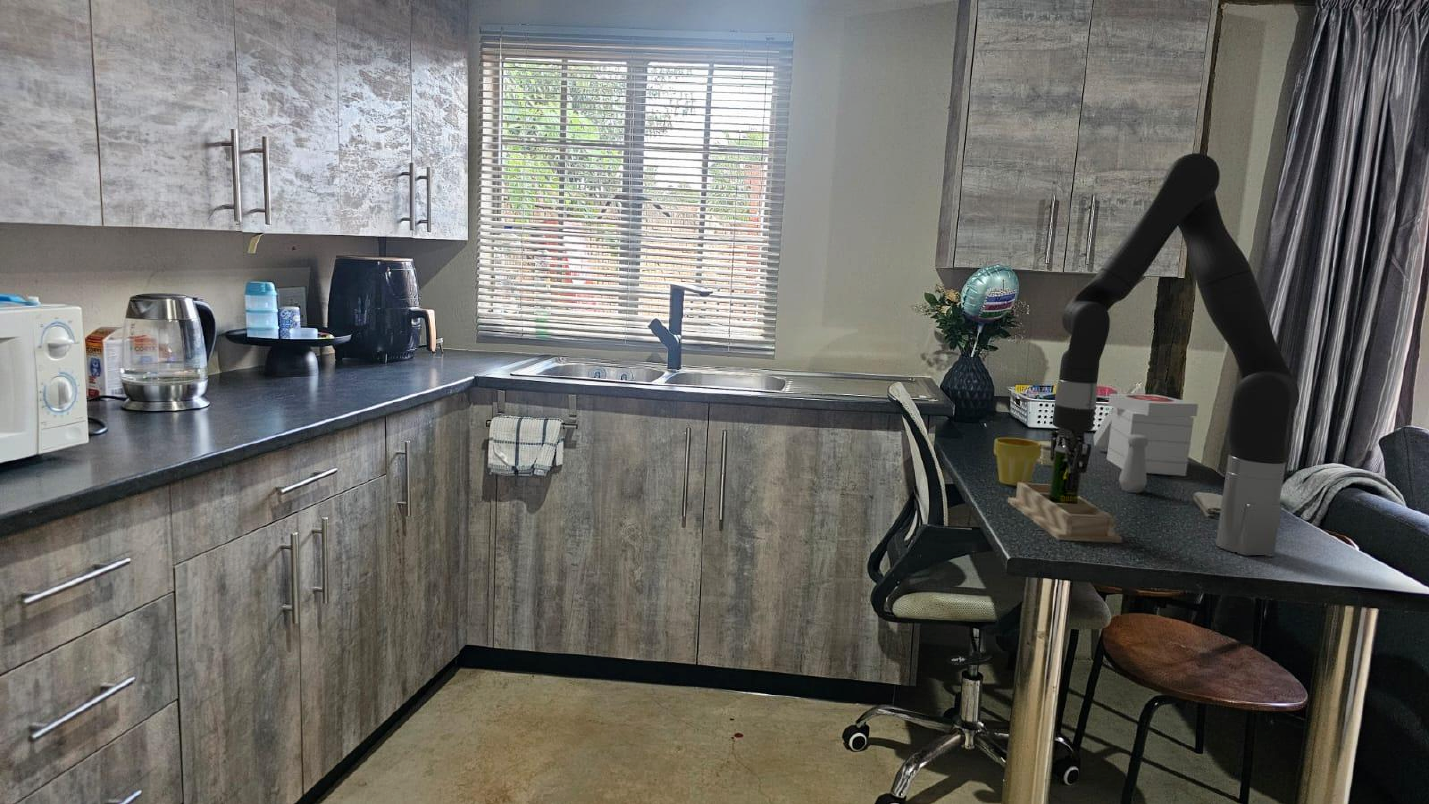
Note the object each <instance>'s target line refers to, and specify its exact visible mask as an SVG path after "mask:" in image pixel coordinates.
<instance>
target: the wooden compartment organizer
mask: <svg viewBox="0 0 1429 804" xmlns="http://www.w3.org/2000/svg"><path fill="white" fill-rule="evenodd" d="M1050 485H1051V483H1049V484H1048V483H1034V482H1032V483H1031V482H1030V483H1022V482H1018V483H1017V486H1016V492H1015V497H1007V503H1008V504H1009V503H1010V506H1012V507H1013V508H1014V509H1016V510H1018V511H1019V512H1020V511H1021V512H1020V513H1022V514H1023V515H1024V516H1026V517H1027V518H1029V520H1031V521H1032V520H1033V521H1032V522H1034V523H1035V524H1036V525H1038V526H1039V527H1040V528H1042V529H1043V530H1044V531H1046V532H1047V533H1048V534H1049V535H1051V536H1052V537H1053V538H1055V539H1056V540H1058V541H1076V542H1077V541H1078V542H1094V543H1095V542H1099V543H1100V542H1101V543H1116V544H1118V543H1119V544H1120V543H1122V542H1123V536H1121V535H1119V534H1118V533H1116V532H1115V526H1116V519H1117V518H1116V517H1115V516H1113V515H1111V514H1110V513H1108V512H1106V511H1104V510H1103V509H1101V508H1100V507H1098V506H1097V505H1095V504H1093V503H1091V502H1089V501H1088V500H1086V499H1085V498H1083V497H1081V496H1079V495H1078V503H1077V504H1070V503H1053V502H1051V501H1050V500H1049V493H1050Z"/></svg>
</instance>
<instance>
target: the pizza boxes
mask: <svg viewBox="0 0 1429 804" xmlns="http://www.w3.org/2000/svg"><path fill="white" fill-rule="evenodd" d="M1108 396H1109V397H1108V403H1107V406H1108V407H1112V408H1110V410H1109V412H1108V413H1107V414H1106V416H1105V417H1104V419H1103V421H1102V422H1101V423H1100V425H1099V427H1098V429H1097V430H1096V431H1095V433H1094V435H1093V443H1094V444H1093V445H1094V447H1102V448H1104V447H1106V448H1107V453H1106V454H1107V456H1106V460H1107V461H1109V462H1111V463H1112V464H1114V465H1115V466H1117V467H1118V468H1120V469H1121V470H1122V469H1123V466H1124V463H1125V460H1126V457H1127V454H1128V451H1129V449H1130V446H1131V445H1129V444H1128V437H1129V436H1130V435H1134V434H1136V435H1143V436H1146V437H1147V438H1148V445H1147V446H1146V447H1145V462H1146V474H1158V475H1170V476H1171V475H1172V476H1183V477H1184V476H1185V477H1186V476H1187V469H1188V463H1189V455H1190V449H1191V447H1190V446H1191V440H1192V434H1193V428H1194V427H1193V426H1194V421H1195V418H1194V417H1197V415H1198V408H1199V407H1198V406H1199V403H1197V402H1192V401H1187V400H1183V399H1178V398H1174V397H1169V396H1165V395H1160V394H1150V393H1149V394H1141V393H1140V394H1138V393H1136V394H1135V393H1132V394H1131V393H1109V395H1108Z"/></svg>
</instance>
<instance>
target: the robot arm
mask: <svg viewBox="0 0 1429 804" xmlns="http://www.w3.org/2000/svg"><path fill="white" fill-rule="evenodd" d="M1220 175H1221V174H1220V168H1219V166H1218V163H1217V162H1216V161H1215V160H1214V159H1213V158H1212V156H1209V155H1207V154H1204V153H1196V152H1193V153H1189V154H1185V155H1183V156H1181V157H1179V158H1177V159H1176V160H1175V161H1174V162H1173V163H1172V164H1171V165H1170V166H1169V168H1168V169H1167V171H1166V173H1165V176H1164V178H1163V181H1162V184H1161V186H1160V188H1159V190H1158V191H1157V193H1156V195H1155V196H1154V198H1153V200H1152V202H1151V203H1150V205H1149V206H1148V207H1147V209H1146V210H1145V212H1144V213H1143V214H1142V216H1141V217H1140V219H1139V220H1138V221H1137V222H1136V224H1135V225H1134V226H1133V228H1132V229H1131V230H1130V231H1129V232H1128V234H1126V236H1125V237H1124V238H1123V239H1122V241H1121V242H1120V243H1119V245H1118V246H1117V247H1116V248H1115V250H1114V251H1113V252H1112V254H1111V255H1110V256H1109V257H1108V259H1107V260H1106V261H1105V263H1104V264H1103V265H1102V266H1101V267H1100V269H1099V271H1098V272H1097V273H1096V275H1095V276H1094V277H1093V278H1092V279H1091V281H1089V282H1088V283H1087V284H1086V285H1085V286H1084V287H1083V288H1082V289H1081V290H1080V291H1078V293H1077V294H1076V295H1075V296H1074V297H1073V298H1072V299H1071V300H1070V302H1068V304H1067V306H1066V307H1065V309H1064V310H1063V312H1062V317H1061V324H1062V326H1063V328H1064V330H1065V332H1066V333H1068V334H1069V335H1070V336H1071V337H1070V340H1069V344H1068V345H1069V346H1068V349H1067V350H1065V351H1064V352H1063V353H1062V356H1061V359H1060V360H1061V361H1060V368H1059V375H1058V376H1059V378H1058V382H1057V386H1056V390H1055V397H1054V404H1053V405H1054V407H1053V414H1052V426H1053V427H1055V428H1058V431H1057V430H1055V431H1051V434H1050V442H1051V446H1050V447H1051V452H1050V460H1051V461H1053V459H1054V451H1055V448H1056V447H1057V446H1056V445H1057V444H1058V445H1062V446H1063V447H1065V458H1064V460H1065V462H1067V477H1066V485H1065V491H1066V492H1068V493H1076V492H1077V490H1078V482H1079V474H1081V475H1082V474H1086V473H1087V469H1088V465H1089V460H1090V456H1091V451H1092V444H1091V443H1086V442H1085V433H1086V432H1088V431H1091V430H1093V428H1094V423H1095V422H1094V421H1095V414H1096V406H1097V405H1096V404H1097V397H1098V380H1099V378H1098V377H1099V369H1100V362H1101V361H1100V360H1101V357H1102V355H1103V353H1104V349H1105V348H1106V347H1105V346H1106V343H1107V341H1108V337H1109V333H1110V327H1111V326H1110V325H1111V320H1110V319H1111V317H1110V314H1109V312H1108V311H1109V310H1110V309H1111V308H1112V307H1113V306H1114V305H1115V304H1116V303H1118V302H1121V301H1123V300H1124V299H1126V298H1127V296H1128V295H1130V293H1131V292H1132V290H1133V289H1134V288H1135V287H1136V286H1137V285H1138V283H1139V281H1140V280H1141V279H1142V278H1143V277H1144V275H1145V274H1146V273H1147V271H1148V270H1149V269H1150V266H1152V264H1153V262H1154V261H1155V259H1156V258H1157V256H1158V255H1159V253H1160V251H1161V250H1162V248H1163V247H1164V246H1165V244H1166V242H1167V241H1168V239H1169V238H1170V237H1171V235H1172V234H1173V233H1174V231H1175V230H1176V229H1177V228H1178V229H1179V231H1180V233H1181V235H1182V238H1183V240H1184V243H1185V246H1186V251H1187V253H1188V259H1189V262H1190V265H1191V269H1192V272H1193V275H1194V278H1195V281H1196V285H1197V288H1198V291H1199V293H1200V295H1201V299H1202V301H1203V304H1204V307H1205V310H1206V311H1207V313H1208V316H1209V318H1210V319H1211V321H1212V323H1213V325H1214V326H1215V327H1216V330H1217V331H1218V332H1219V334H1220V335H1221V336H1222V338H1223V339H1224V341H1225V342H1226V343H1227V345H1228V346H1229V348H1230V350H1231V351H1232V354H1233V356H1234V359H1235V361H1236V364H1237V368H1238V371H1239V374H1240V378H1241V380H1240V381H1239V382H1238V384H1237V386H1236V388H1235V390H1234V393H1233V397H1232V404H1231V409H1230V410H1231V411H1230V418H1229V428H1228V442H1229V451H1228V459H1227V465H1226V472H1225V476H1224V477H1225V478H1224V485H1223V492H1222V495H1223V497H1222V504H1221V511H1220V517H1219V519H1218V526H1217V533H1216V540H1215V544H1216V546H1217V547H1219V548H1221V549H1224V550H1226V551H1228V552H1232V553H1235V552H1237V554H1239V555H1241V554H1242V555H1241V556H1250V555H1271V556H1274V557H1275V553H1276V546H1277V541H1278V534H1279V533H1278V532H1279V526H1280V522H1281V520H1280V519H1281V515H1282V506H1281V505H1280V501H1281V497H1282V496H1281V494H1282V488H1283V481H1284V477H1285V470H1286V463H1287V457H1288V446H1287V440H1286V439H1287V430H1288V423H1289V422H1288V421H1289V416H1290V415H1291V414H1293V412H1294V411H1296V408H1297V407H1298V405H1299V402H1300V401H1299V400H1300V390H1299V387H1298V384H1297V382H1296V380H1295V378H1294V376H1293V373H1291V371H1290V369H1289V367H1288V365H1287V363H1286V361H1285V359H1284V357H1283V355H1282V353H1281V350H1280V349H1279V347H1278V344H1277V342H1276V339H1275V337H1274V334H1273V329H1272V327H1271V324H1270V319H1269V316H1268V312H1267V310H1266V307H1265V304H1264V302H1263V301H1264V300H1263V298H1262V295H1261V291H1260V288H1259V286H1258V284H1257V280H1256V278H1255V276H1254V273H1253V270H1252V267H1251V265H1250V263H1249V262H1248V260H1247V258H1246V256H1245V254H1244V252H1243V251H1242V250H1241V248H1240V247H1239V245H1238V244H1237V243H1236V241H1235V240H1234V239H1233V237H1232V236H1231V234H1230V233H1229V232H1228V229H1227V228H1226V226H1225V223H1224V221H1223V217H1222V215H1221V210H1220V208H1219V204H1218V201H1217V195H1216V191H1217V188H1218V186H1219V184H1220V179H1221V177H1220ZM1069 452H1070V453H1075V454H1074V457H1070V456H1069ZM1072 462H1073V463H1072ZM1082 462H1083V463H1082ZM1271 556H1270V557H1271Z"/></svg>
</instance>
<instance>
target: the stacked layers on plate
mask: <svg viewBox="0 0 1429 804" xmlns="http://www.w3.org/2000/svg"><path fill="white" fill-rule="evenodd" d="M1038 442H1039V443H1041V455H1040V458H1039V459H1037V462H1038V461H1039V462H1038V463H1040V462H1041V463H1040V465H1041V466H1047V467H1053V461H1051V460H1050V452H1051V441H1043V440H1042V441H1041V440H1040V441H1038Z"/></svg>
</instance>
